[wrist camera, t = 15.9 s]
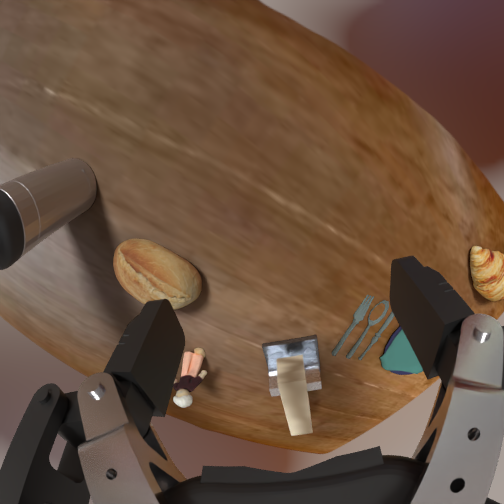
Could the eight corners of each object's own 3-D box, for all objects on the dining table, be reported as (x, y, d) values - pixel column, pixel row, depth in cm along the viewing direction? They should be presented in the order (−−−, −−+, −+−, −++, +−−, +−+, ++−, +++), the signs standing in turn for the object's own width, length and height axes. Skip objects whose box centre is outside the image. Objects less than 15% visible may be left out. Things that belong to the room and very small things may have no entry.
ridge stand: (271, 376, 55) (272, 407, 48) (262, 343, 51) (262, 376, 43) (319, 368, 54) (325, 399, 46) (316, 334, 49) (322, 367, 42)
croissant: (450, 249, 45) (457, 282, 40) (488, 222, 37) (500, 255, 32) (490, 291, 48) (495, 320, 44) (521, 272, 41) (529, 301, 36)
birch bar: (290, 415, 49) (291, 435, 44) (276, 358, 41) (277, 383, 37) (310, 412, 48) (312, 432, 44) (302, 354, 41) (305, 379, 36)
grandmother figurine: (199, 341, 51) (186, 394, 40) (213, 352, 52) (204, 405, 41) (174, 356, 53) (158, 406, 42) (188, 366, 54) (175, 416, 43)
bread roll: (131, 216, 40) (107, 237, 33) (216, 261, 43) (208, 290, 36) (115, 263, 44) (94, 289, 37) (192, 304, 47) (181, 335, 40)
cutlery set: (424, 372, 56) (427, 379, 54) (323, 355, 53) (325, 364, 51) (472, 309, 47) (477, 315, 45) (374, 274, 44) (379, 281, 42)
